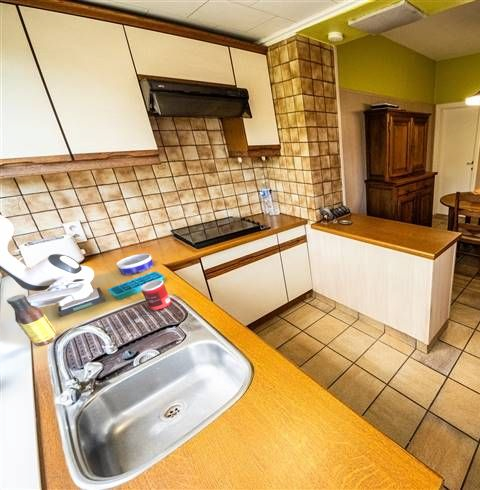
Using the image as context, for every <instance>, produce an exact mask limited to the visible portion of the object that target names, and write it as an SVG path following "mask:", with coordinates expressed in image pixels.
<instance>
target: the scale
mask: <svg viewBox="0 0 480 490" xmlns="http://www.w3.org/2000/svg"><path fill="white" fill-rule="evenodd" d="M92 288H93V292H92V293H91V294H90V295H89V296H87V297H86V298H84V299H79V300H74V301H70V302H68V303H66V304H64V305H63V306H59V307H57V310H58V311H57V312H58V314H59V316H60V317H65V316H67V315H70V314H72V313H76V312H79V311H81V310H84V309H87V308H89V307H92V306H95V305H98V304H101V303H104V302H105V298H104V297H105V296H104V295H103V292H102V290H101V288H100V287H92Z"/></svg>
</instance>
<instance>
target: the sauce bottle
mask: <svg viewBox="0 0 480 490" xmlns="http://www.w3.org/2000/svg"><path fill="white" fill-rule="evenodd" d="M26 297H27V295H25V294H23V293H22V294H21V293H20V294H17V295H13V296H11V297H9V298H7V299H6V302H7V304H8V305H10V306H11V308H12V309H13V311H14V319H15V322H16V323H17V325H18V326H19V327H20V329H21V330H22V331H23V333H24V334H25V335H26V336H27V338H28V339H29V340H30V342H32V343H33V344H34V345H35V346H36V347H39V346H44V345H48V344H49V343H52V342H53V341H54V340H53V339H55V338H56V337H57V336H58V337H59V334H58V332H57V330H56V328H55V327H54V326H53V324H52V323H51V321H50V320H49V318H48V317H47V316H46V315H45V313H44V312H43V311H42V309H41V308H40V307H39V308H38V307H36V306H32V305H31V304H30V303H29V302H28V300H27V298H26ZM58 337H57V338H58ZM57 338H56V339H57ZM56 339H55V340H56ZM52 340H53V341H52ZM51 341H52V342H51Z"/></svg>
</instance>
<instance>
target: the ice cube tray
mask: <svg viewBox="0 0 480 490" xmlns="http://www.w3.org/2000/svg"><path fill="white" fill-rule="evenodd" d="M164 278H165V275H164V274H162V273H160V272H158V271H157V270H156V271H151V272H149V273H146V274H143V275H140V276H138V277H135V278H133V279H129V280H127V281H125V282H122V283H120V284H117V285H115V286H112V287H110V288H107V291H108V292H109V294H111V295H113V296H114V297H115V298H116V299H118V300H124V299H126V298H128V297H131V296H133V295H136V294H138V293H140V292H141V293H142V291H141V287H142V286H143V285H144V284H146V283H148V282H150V281H154V280H162V281H163V282H164Z"/></svg>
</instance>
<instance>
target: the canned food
mask: <svg viewBox="0 0 480 490" xmlns="http://www.w3.org/2000/svg"><path fill="white" fill-rule="evenodd" d="M141 293H142V295H143V298H144V299H145V301H146V304H147V305H148V308H149V309H150V310H151V311H152V310H158V309H162V308H164V309H166V308H168V307H169V306H171V304H172V301H171V298H170V295H169V293H168V291H167V289H166V286H165V283H164V280H163V281H162V280H154V281H150V282H148V283H146V284H144V285H143V286H142V287H141ZM167 306H168V307H167ZM165 307H166V308H165ZM162 310H163V309H162ZM159 311H160V310H158V311H157V312H159Z"/></svg>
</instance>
